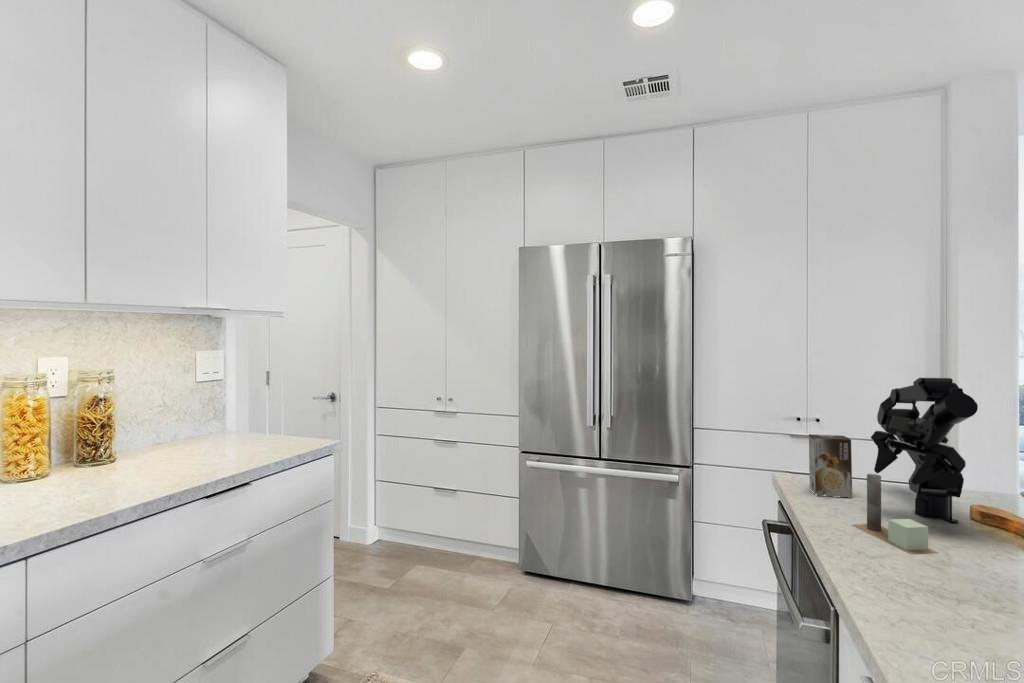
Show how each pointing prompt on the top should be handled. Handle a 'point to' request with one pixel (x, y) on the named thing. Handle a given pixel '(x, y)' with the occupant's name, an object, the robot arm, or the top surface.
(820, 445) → the coffee box
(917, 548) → the sage cube
